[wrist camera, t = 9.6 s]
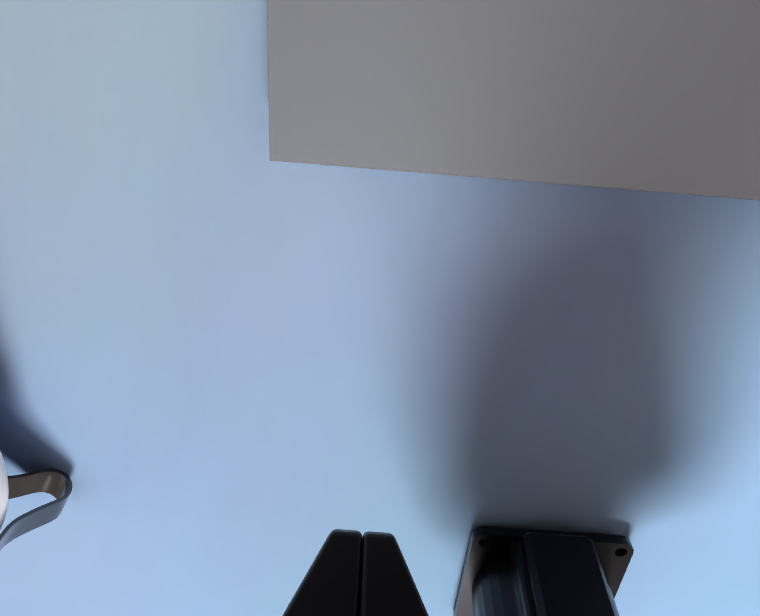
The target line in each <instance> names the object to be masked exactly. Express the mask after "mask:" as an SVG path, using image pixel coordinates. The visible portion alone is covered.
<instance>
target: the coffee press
mask: <svg viewBox="0 0 760 616" xmlns="http://www.w3.org/2000/svg"><path fill="white" fill-rule="evenodd" d="M71 491H72V482H71V480H70V478H69V477H68V476H67V475H66V474H65V473H63V472H62V471H59V470H56V469H43V470H38V471H34V472H30V473H25V474H20V475H14V476H7V471H6V467H5V463H4V460H3V457H2V454H1V452H0V529H1V527H2V525H3V522H4V519H5V516H6V512H7V506H8V499H11V498H15V497H20V496H23V495H27V494H31V493H36V492H46V493H49V494H52V495H53V496H54V497H55V498H56V499H57V500H55V501H52V502H50V503H47V504H45V505H42V506H40V507H38V508H36V509H33V510H31V511H29V512H27V513H25V514H23V515H21V516H19V517H18V518H16V519H15V520H13V521H12V522H11V523H10V524H9V525H8V526H7V527H6V528H5V529H4V530H3V531H2V533H1V534H0V550H1V549H2V548H3V547H4V546H5V545H6V544H7V543H9V542H10V541H12V540H13V539H15V538H17V537H19V536H20V535H22V534H24V533H26V532H29V531H31V530H33V529H35V528H37V527H40V526H42V525H44V524H47V523H49V522H51V521H53V520H54V519H56V518H57V517H58V516H59V515H60V514H61V512H62V510H63V508H64V505H65V503H66V501H67V499H68V497H69V495H70V493H71Z"/></svg>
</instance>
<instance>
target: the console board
mask: <svg viewBox="0 0 760 616" xmlns="http://www.w3.org/2000/svg"><path fill="white" fill-rule="evenodd" d="M268 72H269V144H270V161H283V162H295V163H307V164H320V165H332V166H344V167H357V168H369V169H381V170H394V171H406V172H418V173H431V174H443V175H455V176H468V177H480V178H492V179H505V180H517V181H529V182H542V183H554V184H566V185H579V186H591V187H603V188H616V189H628V190H640V191H653V192H665V193H677V194H690V195H702V196H714V197H727V198H739V199H751V200H760V0H268Z"/></svg>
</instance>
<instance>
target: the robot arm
mask: <svg viewBox="0 0 760 616" xmlns="http://www.w3.org/2000/svg"><path fill="white" fill-rule="evenodd" d="M484 538H486V539H484ZM633 551H634V550H633V547H632V545H631V542H630V540H629V539H628V538H627V537H624V536H617V535H603V534H589V533H575V532H561V531H547V530H533V529H520V528H506V527H492V526H480V527H478V528H476V529H474V530H473V532H472V533H471V538H470V542H469V547H468V551H467V556H466V561H465V565H464V570H463V574H462V579H461V583H460V588H459V593H458V597H457V602H456V606H455V611H454V615H453V616H619V613H618V610H617V607H616V604H615V601H614V598H615V595H616V593H617V591H618V588H619V586H620V583H621V581H622V579H623V576H624V574H625V572H626V569H627V567H628V564H629V562H630V560H631V557H632V555H633ZM283 616H428V613H427V611H426V609H425V606H424V604H423V602H422V599H421V597H420V595H419V592H418V590H417V588H416V585H415V583H414V581H413V578H412V576H411V574H410V571H409V569H408V567H407V564H406V562H405V560H404V557H403V555H402V553H401V550H400V548H399V546H398V543H397V541H396V539H395V537H394V536H393V535H392V534H390V533H382V532H366V533H364V535H363V537H362V534H361V533H360V532H359V531H355V530H341V529H335V530H333V531H332V532H331V533H330V534H329V536H328V537H327V539H326V541H325V543H324V544H323V546H322V548H321V550H320V551H319V553H318V555H317V556H316V558H315V560H314V562H313V563H312V565H311V567H310V569H309V570H308V572H307V574H306V576H305V577H304V579H303V581H302V583H301V584H300V586H299V588H298V590H297V591H296V593H295V595H294V597H293V598H292V600H291V602H290V604H289V605H288V607H287V609H286V611H285V612H284V614H283Z"/></svg>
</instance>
